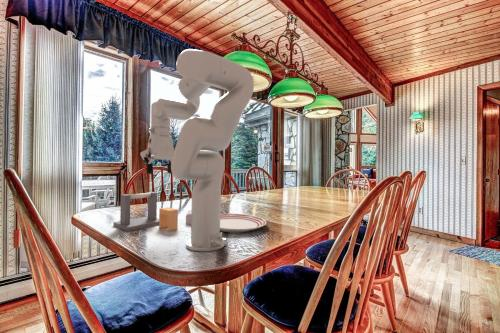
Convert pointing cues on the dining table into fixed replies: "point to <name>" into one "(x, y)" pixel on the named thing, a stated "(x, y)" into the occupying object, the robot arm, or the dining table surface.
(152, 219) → the stand
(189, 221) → the charger
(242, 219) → the dinner plate
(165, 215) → the orange rectangular block
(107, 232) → the dining table surface
